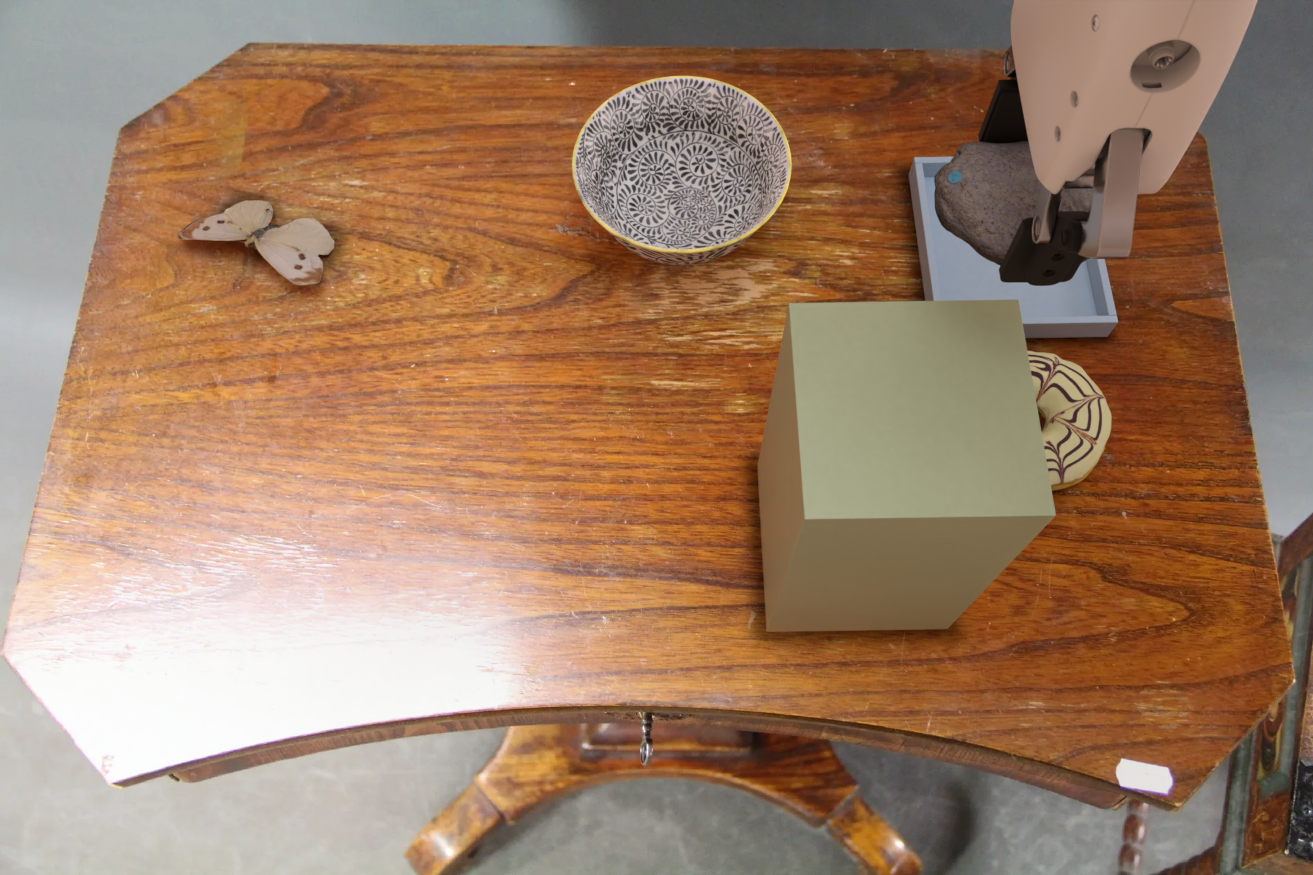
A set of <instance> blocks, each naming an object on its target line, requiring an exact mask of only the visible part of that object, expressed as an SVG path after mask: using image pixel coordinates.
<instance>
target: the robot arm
mask: <svg viewBox="0 0 1313 875" xmlns="http://www.w3.org/2000/svg"><path fill="white" fill-rule="evenodd" d="M1257 4H1258V0H1013V4H1012V8H1011V14H1010V40H1011V45H1010V46H1009V47H1007V49H1006V50H1005V53H1004V56H1003V61H1002V63H1003V64H1002V73H1003V77H1004V78H1010V79H998V81H997V83H996V86H995V89H994V91H993V94H992V97H991V99H990V102H989V105H988V107H987V109H986V112H985V116H984V119H983V121H982V124H981V126H980V129H979V132H978V135H977V137H978V142H988V143H1013V142H1020V141H1029V146H1030V151H1031V156H1032V161H1033V165H1034V169H1035V172H1036V175H1037V177H1038V179H1039V181H1040V182H1041V185H1040V190H1039V194H1038V199H1037V203H1036V208H1035V212H1034V216H1033V217H1030V218H1026V219H1024V220H1022V222H1021V224H1020V226H1019V228H1018V230H1017V232H1016V234H1015V237H1014V239H1013V241H1012V243H1011V245H1010V247H1009V249H1008V251H1007V253H1006V255H1005V257H1004V259H1003V261H1002V264H1001V266H1000V268H999V274H1000V280H1001V281H1002V282H1006V283H1029V284H1030V285H1033V286H1050V285H1055V284H1057V283H1060V282H1066V281H1069V280H1071V279H1072V278H1073V276H1074V275H1075V273H1076V271H1077V270H1078V268H1079V266H1080V265H1081V263H1082V261H1083V260H1084V258H1085V257H1087V258H1091V259H1105V260H1126V259H1128V258H1129V256H1130V254H1131V251H1132V245H1133V238H1134V237H1133V236H1134V228H1135V218H1136V211H1137V203H1138V202H1137V200H1138V196H1139V195H1152V194H1153V195H1154V194H1157V192H1159V191H1160V190H1161V189H1162V188H1163V187H1164V186H1165V184H1166V183H1167V182H1168V181H1169V179H1170V178H1171V176H1172V175H1173V173H1174V171H1175V170H1176V168H1177V166H1179V163H1180V162H1181V160H1182V158H1183V157H1184V155H1185V153H1187V152H1186V151H1187V150H1188V148H1189V146H1190V145H1191V143H1192V141H1193V140H1194V138H1195V136H1196V134H1197V133H1198V131H1199V129H1200V127H1201V125H1202V124H1203V121H1204V120H1205V118H1206V116H1207V114H1208V112H1209V110H1210V108H1211V107H1212V105H1213V103H1214V101H1215V99H1216V97H1217V95H1218V93H1219V92H1220V89H1221V87H1222V85H1223V83H1224V82H1225V79H1226V77H1227V76H1228V73H1229V71H1230V69H1231V67H1232V64H1233V63H1234V60H1235V58H1236V56H1237V54H1238V52H1239V49H1240V47H1241V44H1242V42H1243V39H1244V38H1245V35H1246V33H1247V30H1248V27H1249V25H1250V22H1251V20H1252V18H1253V15H1254V12H1255V9H1256V6H1257ZM1063 189H1092V199H1091V203H1090V207H1089V211H1088V212H1086V211H1059V206H1060V202H1061V198H1062V194H1063Z"/></svg>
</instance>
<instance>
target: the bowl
mask: <svg viewBox="0 0 1313 875" xmlns="http://www.w3.org/2000/svg"><path fill="white" fill-rule="evenodd" d="M788 140H789V139H788V137H787V135H786V133H785V131H784V129H783V127H782V126H781V124H780V122H779V120H778V119H777V118H776V117H775V115H774V114H773V113H772V112H771V111H770V109H769V108H767V107H766V106H765V105H764V104H763V103H762V102H761V101H760V100H758V99H757V98H756V97H754V96H753V95H751V94H749V93H748V92H746V91H745V90H743V89H742V88H739V87H737V86H736V85H735V86H734V85H733V84H729V83H727V82H725V81H721V80H717V79H714V78H709V77H703V76H696V75H695V76H694V75H670V76H663V77H655V78H650V79H647V80H644V81H640V82H638V83H635V84H633V85H629V87H626V88H624V89H622V90H621V91H619V92H617V93H615V94H613V95H612V96H611V97H609V98H607V100H605V101H604V102H603V103H601V105H599V106H598V107H597V108H596V109H595V110H594V111H593V113H591V115H589V117H588V118H587V119H586V121H585V122H584V124H583V125H582V127H581V129H580V131H579V133H578V135H577V138H576V140H575V143H574V147H573V151H572V158H571V173H572V181H573V184H574V188H575V191H576V193H577V196H578V197H579V199H580V202H581V203H582V205H583V207H584V209H586V211H587V213H588V214H589V215H590V217H591V218H593V220H594V221H595V222H597V224H599V225H600V226H601V227H602V228H603V229H605V230H606V231H607V232H608V233H609V235H610V236H611V237H612V238H613V239H614V240H616V242H618V243H619V244H620V245H622V246H623V247H624V248H625V249H627V250H628V251H630V252H632V253H634V254H635V255H636V256H640V258H643V259H646V260H649V261H651V262H655V263H658V264H663V265H668V266H669V265H670V266H692V265H700V264H705V263H707V262H711V261H715V260H717V259H720V258H722V257H724V256H726V255H728V254H730V253H731V252H733V251H734V250H736V249H738V248H739V247H740V246H742V245H743V244H744V243H746V241H748V240H749V239H750V238H751V237H752V236H753V235H754V233H755V232H757V231H758V230H759V229H761V228H762V227H763V226H764V225H765V224H766V223H767V222H768V221H769V220H770V219H771V218H772V217H773V216H774V214H775V213H776V212H777V210H778V209H779V207H780V206H781V205H782V202H783V201H784V199H785V197H786V196H787V192H788V190H789V186H790V181H791V177H792V168H793V164H792V163H793V162H792V153H791V149H790V148H791V147H790V145H789V141H788Z"/></svg>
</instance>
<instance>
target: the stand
mask: <svg viewBox="0 0 1313 875" xmlns="http://www.w3.org/2000/svg"><path fill="white" fill-rule="evenodd" d="M1026 340H1027V339H1026V338H1025V334H1024V329H1023V323H1022V317H1021V311H1020V306H1019V300H1018V299H1016V300H953V301H925V300H902V301H901V300H900V301H899V300H897V301H896V300H894V301H841V302H839V301H838V302H836V301H835V302H833V301H832V302H831V301H830V302H789V303H788V306H787V311H786V316H785V321H784V327H783V332H782V337H781V342H780V346H779V352H778V358H777V363H776V367H775V372H774V376H773V377H774V378H773V382H772V388H771V393H770V398H769V403H768V409H767V412H766V413H767V415H766V420H765V423H764V428H763V435H762V439H761V445H760V451H759V455H758V459H757V460H758V461H757V465H756V466H757V468H756V469H757V483H758V484H757V485H758V505H759V520H760V538H761V539H760V540H761V541H760V542H761V560H762V575H763V577H762V578H763V593H764V594H763V595H764V614H765V631H766V633H768V632H769V633H778V632H779V633H783V632H784V633H785V632H787V633H788V632H789V633H790V632H848V631H849V632H852V631H856V632H857V631H917V630H918V631H921V630H923V631H924V630H928V631H929V630H948V629H949V628H950V627H951V626H952V625H953V624H954V623H955V622H956V621H957V620H958V618H960V617H961V615H963V614H964V612H965V611H967V609H968V608H969V607H970V606H971V605H972V604H973V603H974V602H975V601H976V600H977V599H978V598H979V596H981V595H982V594H983V592H984V591H985V590H986V589H988V588H989V586H990V585H991V584H992V583H993V582H994V581H995V580H996V579H997V578H998V577H999V576H1000V574H1002V573H1003V572H1004V571H1005V570H1006V569H1007V567H1008V566H1010V564H1012V562H1013V561H1014V560H1015V559H1016V558H1017V557H1018V556H1019V555H1020V554H1021V553H1022V552H1023V551H1024V550H1025V549H1026V548H1027V546H1028V545H1030V543H1031V542H1032V541H1033V540H1034V539H1035V538H1036V537H1037V536H1038V535H1039V534H1040V533H1041V532H1042V531H1043V530H1044V529H1045V527H1046V526H1047V525H1049V524H1050V523H1051V521H1052V520H1053V519H1054V518H1056V516H1057V514H1056V507H1055V502H1054V495H1053V491H1052V490H1051V484H1050V478H1049V472H1048V467H1047V461H1046V455H1045V449H1044V444H1043V438H1042V432H1041V429H1042V425H1041V420H1040V419H1039V415H1038V409H1037V403H1036V398H1035V392H1034V386H1033V380H1032V375H1031V369H1030V363H1029V357H1028V352H1027V351H1028V347H1027V341H1026Z"/></svg>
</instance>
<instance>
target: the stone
mask: <svg viewBox="0 0 1313 875" xmlns="http://www.w3.org/2000/svg"><path fill="white" fill-rule="evenodd" d="M952 157H953V158H952V160H951V161H950V162H949V163H948V164H946V165H944V166H943V167H942V168H941V169H940V170H939V171H938V172H937V174H936V175H935V178H934V183H935V193H934V199H935V211H936V214H937V217H938V219H939V221H940V223H941V225H942V226H943V227H944V228H945V229H946V230H947V231H949V232H951V233H952V234H953V235H955V236H956V237H958V238H960V239H962V240H963V241H965V242H966V243H967V244H969V245H970V246H971V247H972V248H973V249H974V250H975V251H976V252H977V253H978V254H979V255H981V256H982V257H984V258H985V259H987V260H989V261H991V262H994V263H996V264H997V265H1000V266H1001V264H1002V261H1003V259H1004V257H1005V255H1006V253H1007V251H1008V249H1009V247H1010V245H1011V243H1012V241H1013V239H1014V237H1015V234H1016V232H1017V230H1018V228H1019V226H1020V224H1021V222H1022V220H1024V219H1026V218H1030V217H1033V216H1034V212H1035V208H1036V203H1037V199H1038V194H1039V190H1040V185H1041V182H1040V181H1039V179H1038V177H1037V175H1036V172H1035V169H1034V165H1033V161H1032V156H1031V151H1030V146H1029V141H1020V142H1013V143H988V142H979V141H971V142H967V143H963V144H961V145H959V147H957V149H956V152H955V154H954V156H952ZM1091 199H1092V189H1063V194H1062V198H1061V202H1060V206H1059V211H1086V212H1088V211H1089V207H1090V203H1091ZM1087 259H1090V258H1087V257H1085V258H1084V260H1083V261H1082V263H1083V262H1084V261H1086V260H1087Z"/></svg>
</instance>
